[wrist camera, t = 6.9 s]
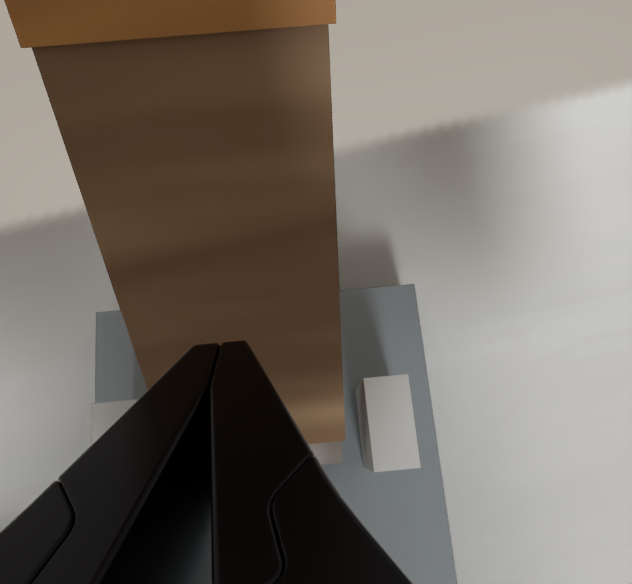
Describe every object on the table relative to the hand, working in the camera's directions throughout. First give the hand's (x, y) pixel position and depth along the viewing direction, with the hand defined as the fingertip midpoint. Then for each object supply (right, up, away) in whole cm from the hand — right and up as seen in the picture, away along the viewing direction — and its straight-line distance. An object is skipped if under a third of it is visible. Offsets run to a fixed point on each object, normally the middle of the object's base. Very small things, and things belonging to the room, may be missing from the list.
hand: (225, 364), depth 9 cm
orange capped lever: (0, -2, +4) cm, 5 cm away
